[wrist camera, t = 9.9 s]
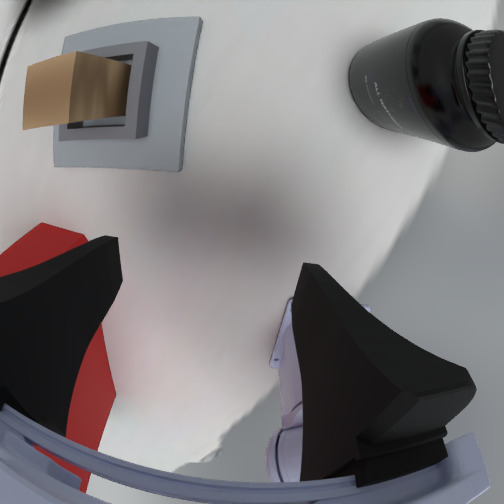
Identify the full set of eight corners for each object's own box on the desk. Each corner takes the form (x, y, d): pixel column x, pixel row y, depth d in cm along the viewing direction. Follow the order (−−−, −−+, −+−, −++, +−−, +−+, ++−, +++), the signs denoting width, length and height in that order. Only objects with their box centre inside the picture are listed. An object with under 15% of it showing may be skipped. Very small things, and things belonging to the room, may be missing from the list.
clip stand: (181, 169, 18) (169, 179, 15) (60, 164, 17) (38, 173, 15) (202, 21, 13) (193, 6, 10) (71, 38, 12) (49, 33, 9)
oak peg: (131, 115, 15) (68, 123, 9) (89, 117, 15) (22, 130, 9) (136, 66, 13) (76, 51, 7) (94, 72, 13) (27, 66, 7)
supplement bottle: (334, 107, 16) (448, 110, 5) (359, 28, 12) (466, -32, 2) (413, 146, 16) (537, 201, 6) (435, 73, 13) (558, 78, 3)
